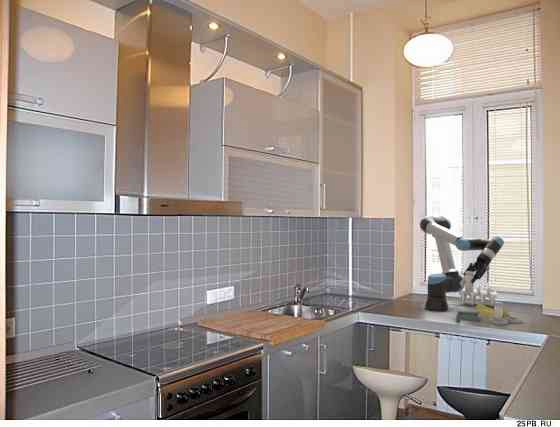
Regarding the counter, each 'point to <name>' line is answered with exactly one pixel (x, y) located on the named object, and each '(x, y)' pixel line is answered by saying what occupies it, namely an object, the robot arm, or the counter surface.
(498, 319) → the plain fuse
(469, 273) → the marked fuse
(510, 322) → the fuse block
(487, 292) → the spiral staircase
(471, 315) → the tray
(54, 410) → the counter surface
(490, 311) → the plastic component
